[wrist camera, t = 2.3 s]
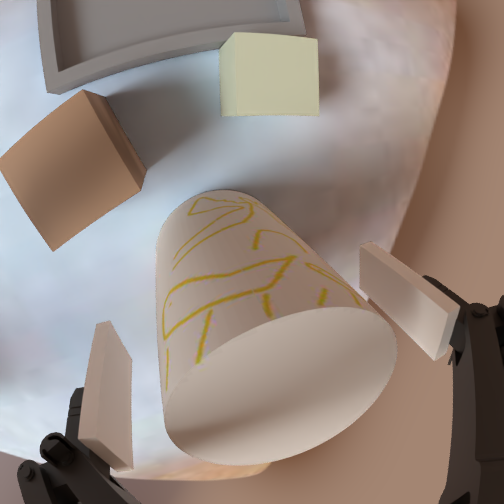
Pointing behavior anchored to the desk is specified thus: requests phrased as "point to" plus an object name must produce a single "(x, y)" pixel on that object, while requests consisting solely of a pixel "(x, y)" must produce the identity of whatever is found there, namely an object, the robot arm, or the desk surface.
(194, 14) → the tray
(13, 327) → the desk surface
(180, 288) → the cream cylinder
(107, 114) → the walnut block
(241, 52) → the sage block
